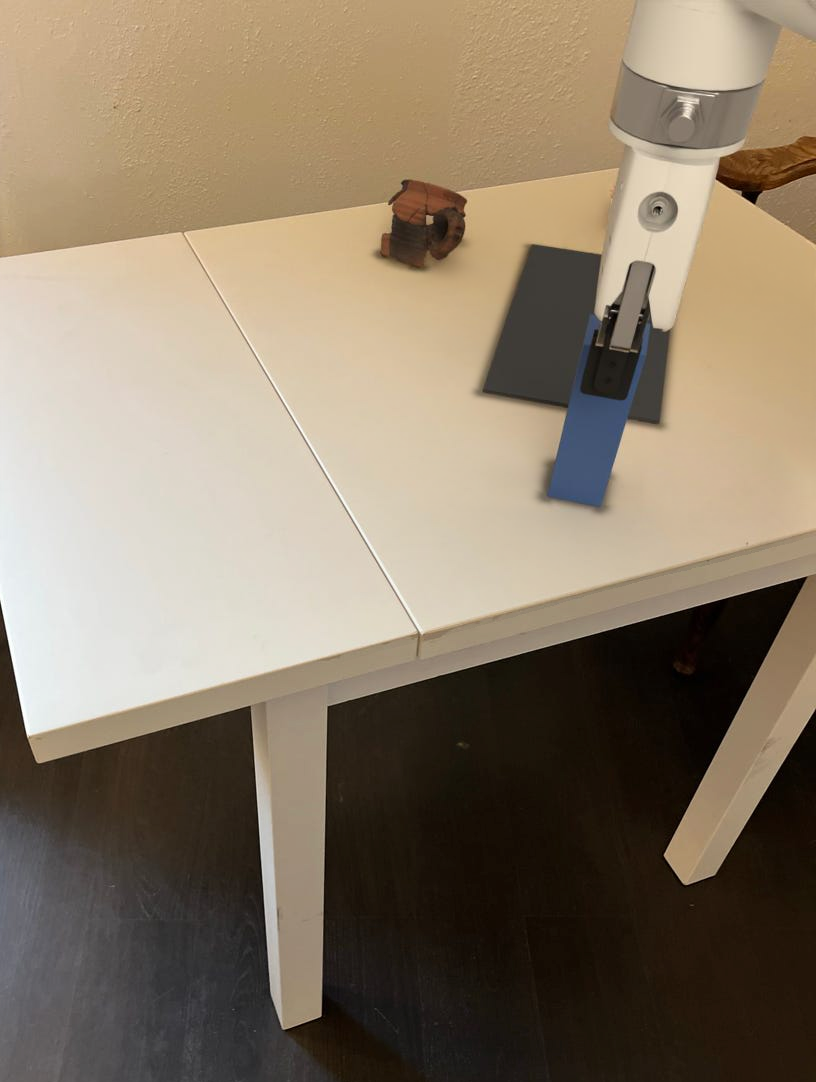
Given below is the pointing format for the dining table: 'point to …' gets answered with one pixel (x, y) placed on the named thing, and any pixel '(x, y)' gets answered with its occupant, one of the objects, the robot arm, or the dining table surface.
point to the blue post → (591, 434)
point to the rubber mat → (562, 335)
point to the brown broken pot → (424, 223)
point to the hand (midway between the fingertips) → (603, 390)
